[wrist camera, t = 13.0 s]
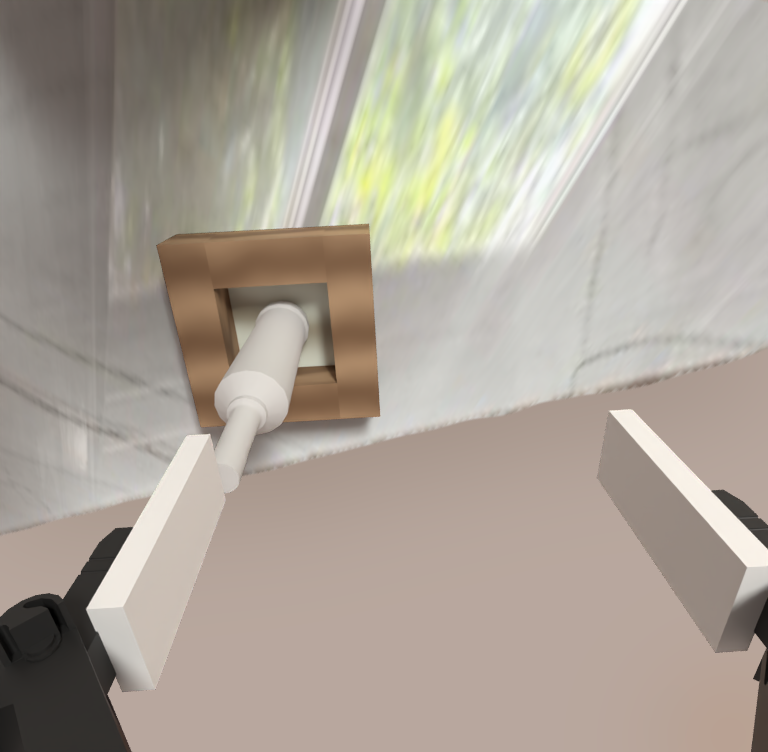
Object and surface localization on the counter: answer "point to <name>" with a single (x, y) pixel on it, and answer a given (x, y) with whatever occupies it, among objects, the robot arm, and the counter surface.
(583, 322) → the counter surface
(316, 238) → the frame
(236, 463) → the bottle
